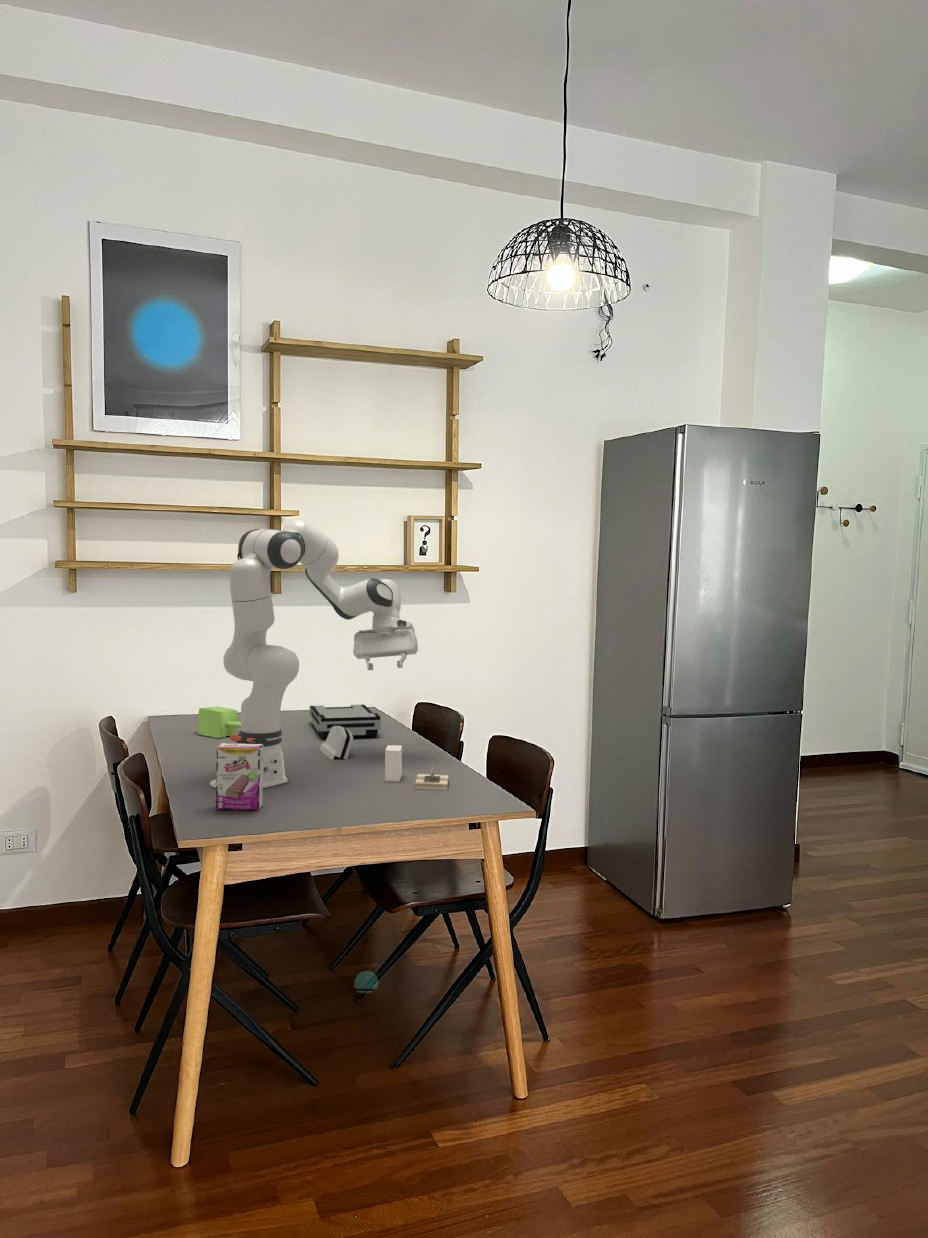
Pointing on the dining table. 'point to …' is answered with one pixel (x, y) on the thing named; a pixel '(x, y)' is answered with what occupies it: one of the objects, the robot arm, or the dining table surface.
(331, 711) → the office tray
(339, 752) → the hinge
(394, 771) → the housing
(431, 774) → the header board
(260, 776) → the candy bar box
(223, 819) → the dining table surface
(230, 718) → the gearbox
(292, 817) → the dining table surface
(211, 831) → the dining table surface
